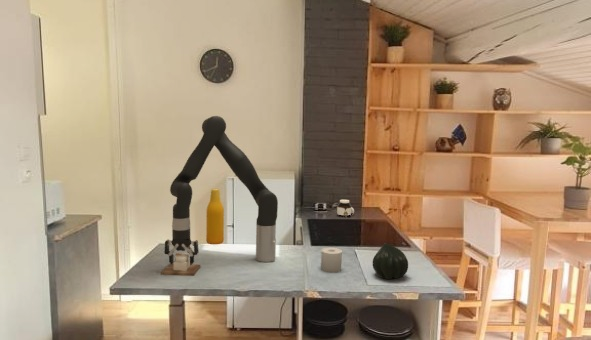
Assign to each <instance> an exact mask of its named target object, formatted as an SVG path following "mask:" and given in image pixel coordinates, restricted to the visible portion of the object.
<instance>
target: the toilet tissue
mask: <svg viewBox="0 0 591 340" xmlns="http://www.w3.org/2000/svg"><path fill="white" fill-rule="evenodd" d="M320 256H321V260H320V261H321V262H320V270H321V271H323V272H325V273H333V274H334V273H339V272H340V271H342V260H343V259H342V256H343V251H342V249H340V248H337V247H324V248H321V255H320Z"/></svg>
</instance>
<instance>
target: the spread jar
mask: <svg viewBox="0 0 591 340" xmlns="http://www.w3.org/2000/svg"><path fill="white" fill-rule="evenodd" d="M336 209H337V210H336V214H337V215H338V216H339V215H350V216H352V215H351V213H353V214H354V213H355V209H354V207H352V205H351V203H350V199H340V200H339V203H338V204H337V207H336Z"/></svg>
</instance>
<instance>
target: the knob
mask: <svg viewBox="0 0 591 340" xmlns="http://www.w3.org/2000/svg"><path fill="white" fill-rule="evenodd" d="M189 257H190V255H189V253H187V252H179V253H175V254H174V263H173V264H174V270H182V271H186V270H187V269H188V268H189V266H190V258H189Z"/></svg>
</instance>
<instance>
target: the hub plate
mask: <svg viewBox="0 0 591 340" xmlns="http://www.w3.org/2000/svg"><path fill="white" fill-rule="evenodd" d="M201 266H202V265H201V264H194V263H193V264H192V265H190V266H189V268H188V269H187V270H186V271H182V270H174V263H173V264H170V263H169V264H168V265H167V266H166V267H164V269H163V270H162V271H161V272H160V275H163V276H165V275H166V276H167V275H168V276H190V277H191V276H195V275H196V274H197V272H198V271H199V269H200V268H201Z"/></svg>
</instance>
